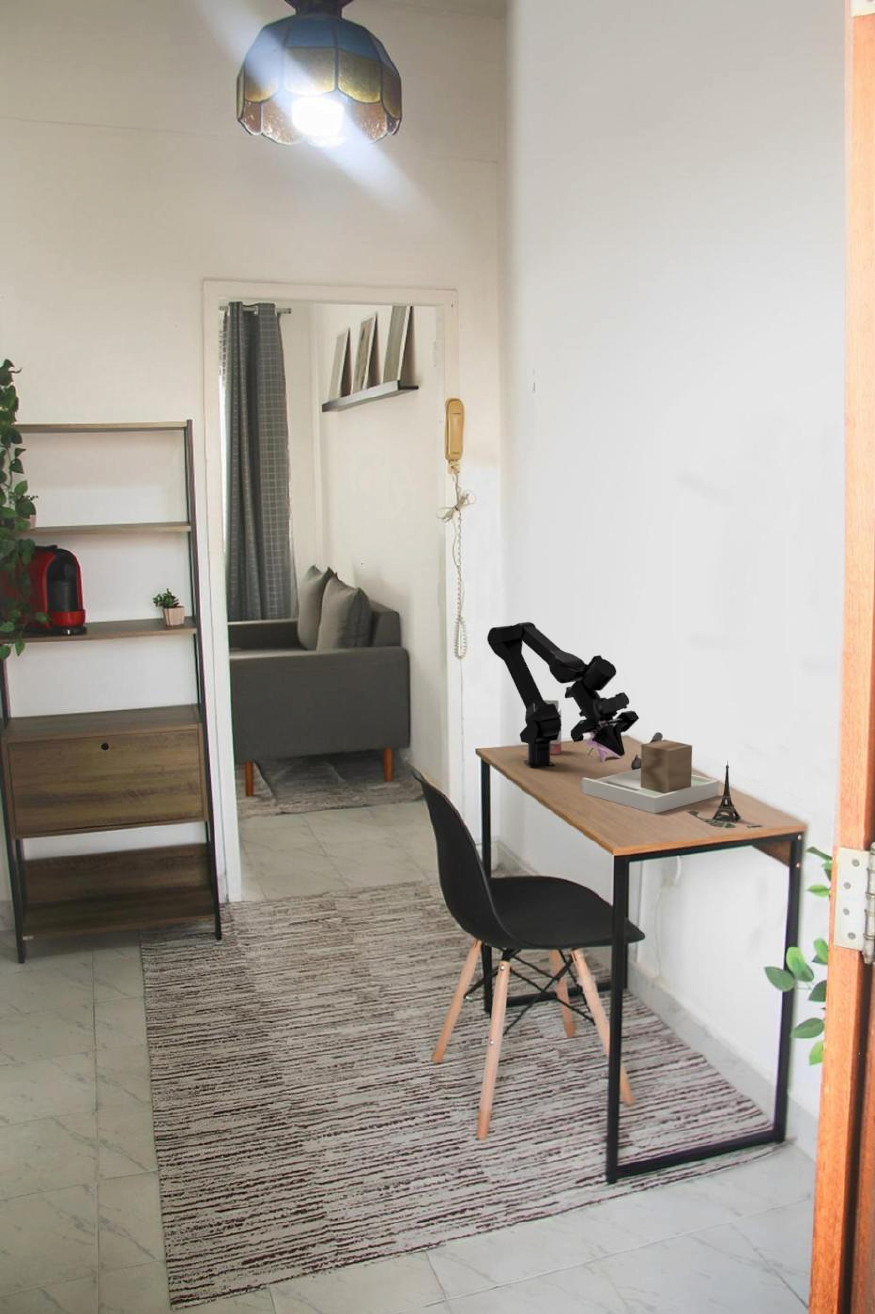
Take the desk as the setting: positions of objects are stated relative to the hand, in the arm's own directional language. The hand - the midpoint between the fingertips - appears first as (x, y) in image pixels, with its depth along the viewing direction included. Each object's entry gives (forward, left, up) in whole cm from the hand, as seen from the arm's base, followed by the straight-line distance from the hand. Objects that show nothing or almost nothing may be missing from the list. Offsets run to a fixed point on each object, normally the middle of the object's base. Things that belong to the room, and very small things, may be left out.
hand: (622, 755), depth 260 cm
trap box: (+8, +4, -8) cm, 12 cm away
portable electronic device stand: (-16, +14, -8) cm, 23 cm away
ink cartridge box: (-39, -6, -8) cm, 40 cm away
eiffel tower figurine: (+29, +11, -9) cm, 32 cm away
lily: (-28, +6, -8) cm, 30 cm away
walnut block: (+12, +6, -5) cm, 14 cm away
